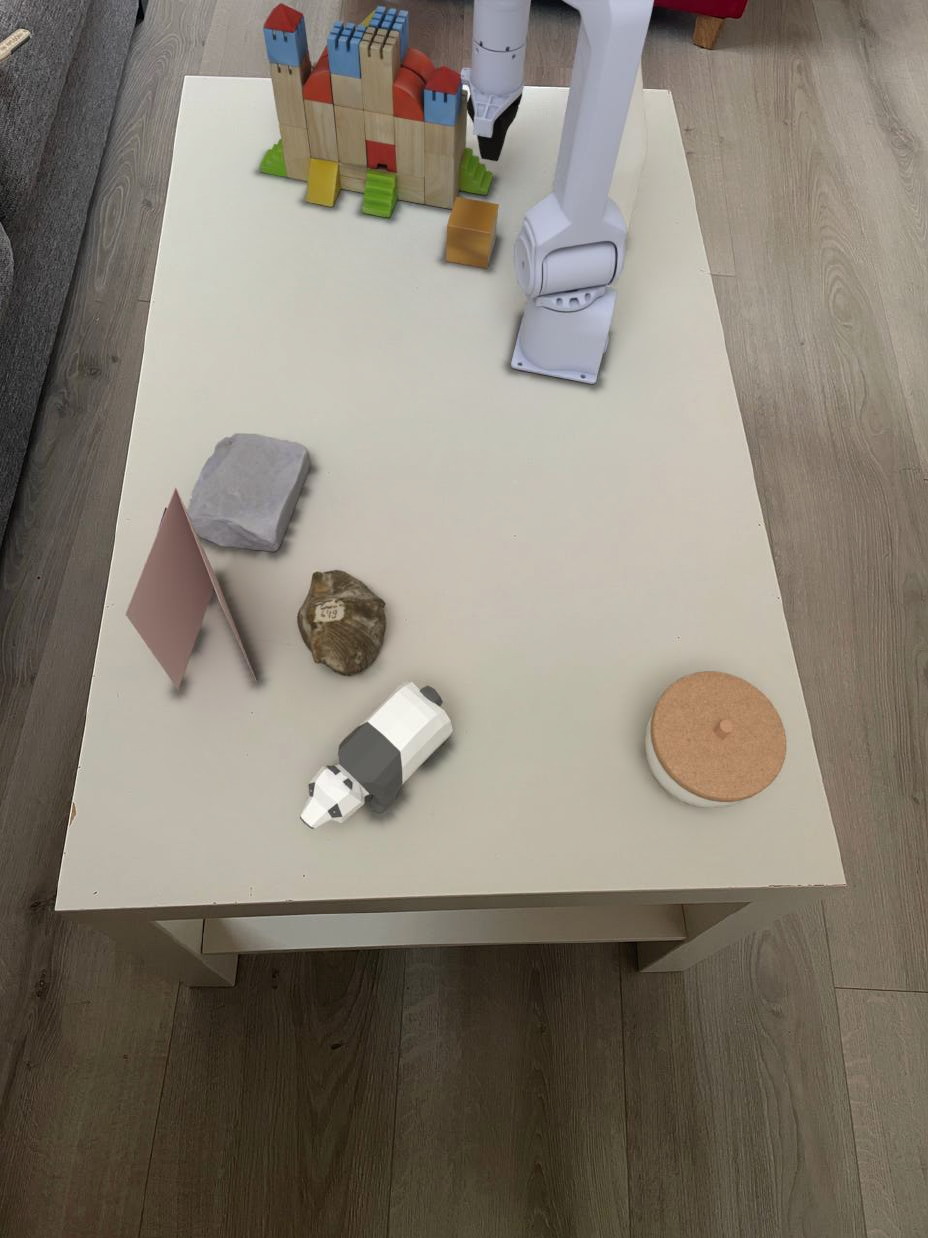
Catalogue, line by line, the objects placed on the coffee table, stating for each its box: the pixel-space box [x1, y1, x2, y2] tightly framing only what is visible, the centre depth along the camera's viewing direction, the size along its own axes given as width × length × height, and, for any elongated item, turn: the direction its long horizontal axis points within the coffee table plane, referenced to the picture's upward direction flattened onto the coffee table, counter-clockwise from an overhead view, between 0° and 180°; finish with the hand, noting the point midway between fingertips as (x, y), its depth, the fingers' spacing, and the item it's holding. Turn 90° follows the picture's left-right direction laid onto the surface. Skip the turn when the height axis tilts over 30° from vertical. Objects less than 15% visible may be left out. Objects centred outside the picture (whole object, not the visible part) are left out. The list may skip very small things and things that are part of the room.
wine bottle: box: [608, 58, 649, 237], centre depth 90 cm, size 10×10×30 cm
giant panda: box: [299, 681, 454, 830], centre depth 68 cm, size 15×6×10 cm, turn 138°
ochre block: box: [445, 196, 500, 269], centre depth 99 cm, size 5×5×5 cm
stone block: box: [186, 432, 311, 553], centre depth 83 cm, size 12×5×10 cm
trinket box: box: [644, 670, 787, 809], centre depth 70 cm, size 11×11×9 cm
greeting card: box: [124, 486, 258, 691], centre depth 71 cm, size 11×7×15 cm, turn 170°
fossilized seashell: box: [296, 569, 387, 677], centre depth 76 cm, size 8×7×10 cm
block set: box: [259, 3, 493, 218], centre depth 98 cm, size 28×14×19 cm, turn 77°
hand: (490, 156), depth 101 cm, fingers closed
